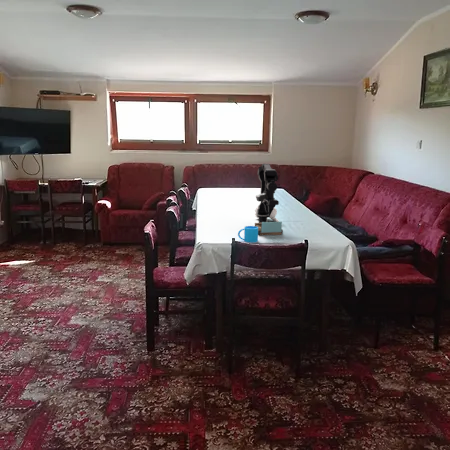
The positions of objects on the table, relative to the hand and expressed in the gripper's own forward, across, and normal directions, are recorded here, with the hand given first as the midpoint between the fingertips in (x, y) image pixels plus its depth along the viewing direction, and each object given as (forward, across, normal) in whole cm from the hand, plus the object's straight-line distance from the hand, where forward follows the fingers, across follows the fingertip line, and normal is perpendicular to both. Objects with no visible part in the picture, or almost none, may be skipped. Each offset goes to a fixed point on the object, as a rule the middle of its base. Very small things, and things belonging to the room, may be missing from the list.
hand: (268, 213), depth 266 cm
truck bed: (+12, 0, 0) cm, 13 cm away
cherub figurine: (+13, -35, +13) cm, 39 cm away
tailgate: (+10, +7, 0) cm, 12 cm away
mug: (+13, +17, -19) cm, 29 cm away
